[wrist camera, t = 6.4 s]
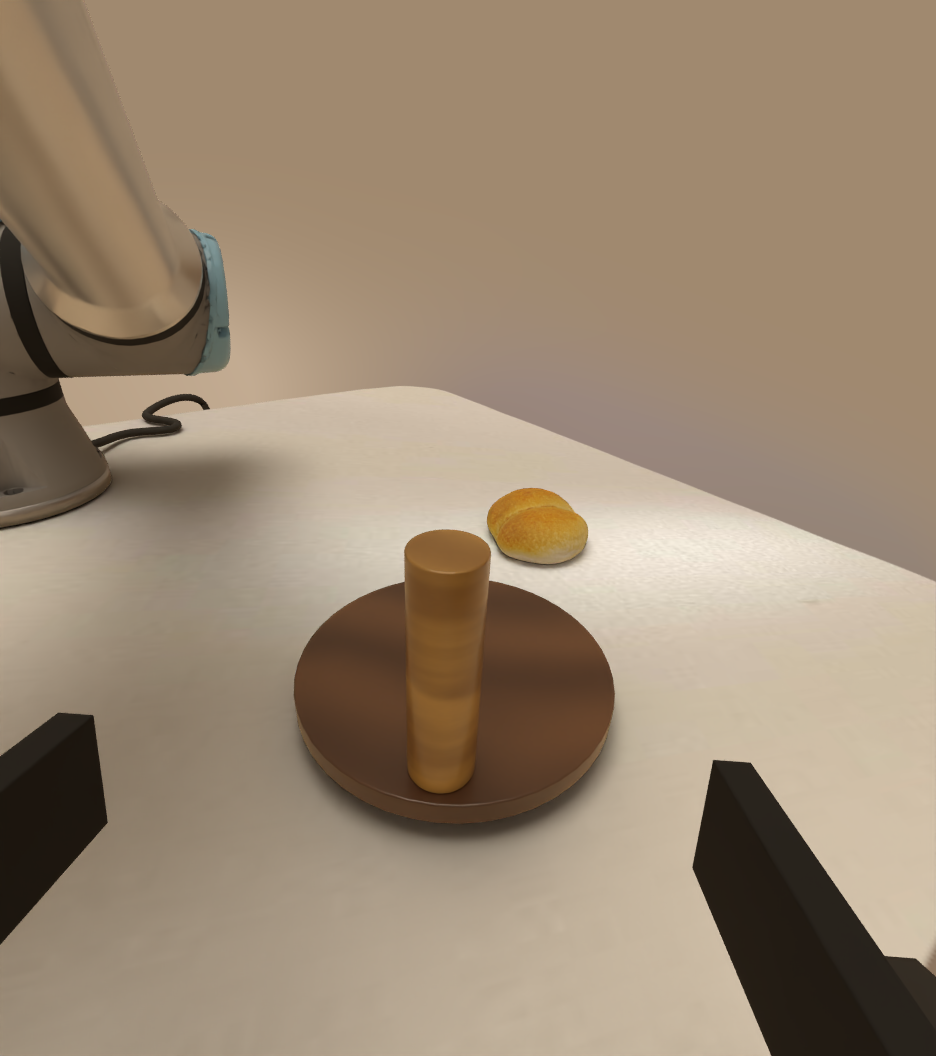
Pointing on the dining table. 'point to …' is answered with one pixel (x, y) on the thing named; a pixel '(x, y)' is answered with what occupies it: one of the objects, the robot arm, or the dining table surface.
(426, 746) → the turntable
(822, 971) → the robot arm
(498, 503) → the bread roll
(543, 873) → the dining table surface
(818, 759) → the dining table surface
